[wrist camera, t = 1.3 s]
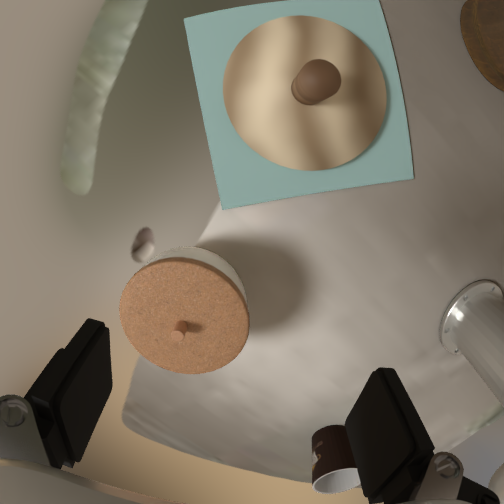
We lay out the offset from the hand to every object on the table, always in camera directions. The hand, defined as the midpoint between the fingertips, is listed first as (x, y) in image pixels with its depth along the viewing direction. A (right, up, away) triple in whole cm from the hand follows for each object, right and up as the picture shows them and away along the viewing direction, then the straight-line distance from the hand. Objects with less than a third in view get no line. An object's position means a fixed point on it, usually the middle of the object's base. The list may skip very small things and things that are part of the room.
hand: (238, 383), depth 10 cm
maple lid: (+6, +21, +20) cm, 30 cm away
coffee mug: (+13, -28, +38) cm, 49 cm away
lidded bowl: (-6, +1, +28) cm, 28 cm away
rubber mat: (+6, +21, +20) cm, 30 cm away
